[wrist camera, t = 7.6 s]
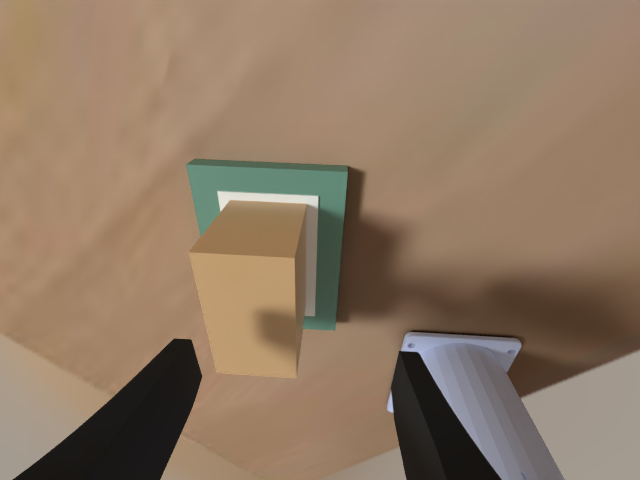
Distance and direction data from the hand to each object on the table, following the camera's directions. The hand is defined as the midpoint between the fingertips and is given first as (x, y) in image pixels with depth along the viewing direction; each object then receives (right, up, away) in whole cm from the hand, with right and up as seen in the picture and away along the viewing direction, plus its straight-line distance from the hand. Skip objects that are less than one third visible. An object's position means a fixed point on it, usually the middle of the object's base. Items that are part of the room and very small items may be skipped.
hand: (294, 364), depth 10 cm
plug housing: (-2, +3, +7) cm, 8 cm away
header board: (-2, +4, +8) cm, 9 cm away
